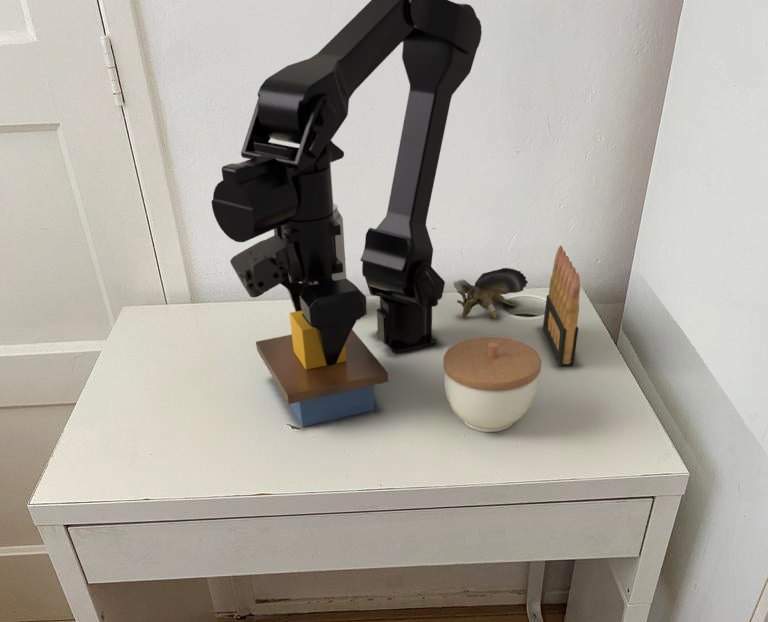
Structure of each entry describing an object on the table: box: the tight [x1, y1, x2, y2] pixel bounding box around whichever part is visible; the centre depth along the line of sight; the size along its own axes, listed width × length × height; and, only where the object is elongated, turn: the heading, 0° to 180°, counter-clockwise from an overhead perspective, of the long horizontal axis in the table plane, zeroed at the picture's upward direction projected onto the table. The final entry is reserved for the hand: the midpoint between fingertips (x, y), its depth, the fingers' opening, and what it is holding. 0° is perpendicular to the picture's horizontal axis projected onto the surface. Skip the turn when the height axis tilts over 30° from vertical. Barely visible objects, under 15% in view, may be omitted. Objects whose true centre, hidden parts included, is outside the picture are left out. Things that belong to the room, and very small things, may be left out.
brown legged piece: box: [453, 267, 529, 319], centre depth 111 cm, size 8×7×9 cm
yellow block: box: [289, 311, 346, 370], centre depth 91 cm, size 5×5×5 cm
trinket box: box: [442, 336, 542, 433], centre depth 88 cm, size 11×11×9 cm
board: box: [255, 329, 389, 405], centre depth 93 cm, size 12×14×1 cm
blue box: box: [288, 385, 375, 428], centre depth 95 cm, size 9×12×4 cm
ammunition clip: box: [542, 245, 581, 367], centre depth 100 cm, size 11×2×12 cm, turn 3°
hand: (318, 347), depth 92 cm, fingers open, 9 cm apart
